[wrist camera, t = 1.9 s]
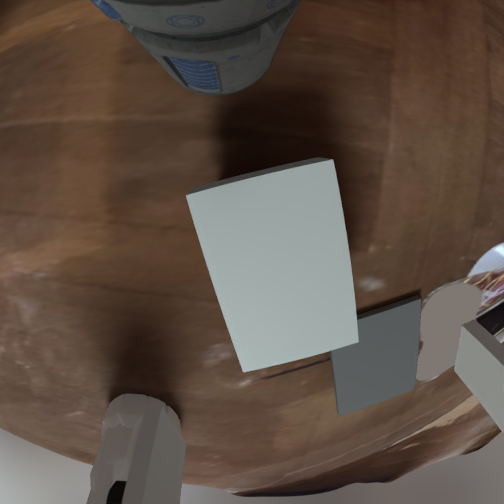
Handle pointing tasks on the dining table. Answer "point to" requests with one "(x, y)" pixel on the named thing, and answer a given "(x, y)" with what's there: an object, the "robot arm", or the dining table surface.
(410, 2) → the dining table surface
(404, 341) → the mat
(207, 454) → the dining table surface
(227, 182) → the board
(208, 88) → the beverage bottle
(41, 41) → the dining table surface
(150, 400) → the white ridged column
